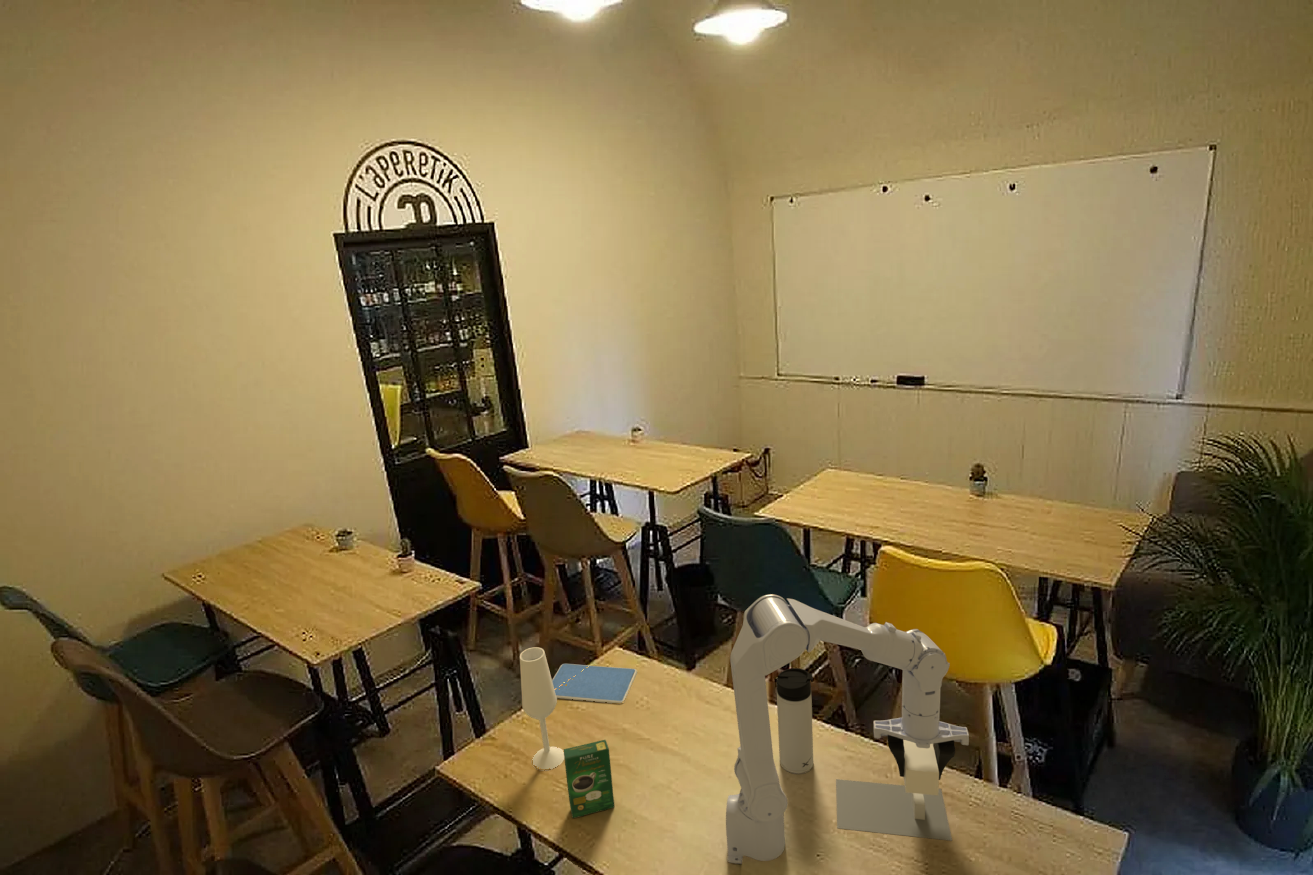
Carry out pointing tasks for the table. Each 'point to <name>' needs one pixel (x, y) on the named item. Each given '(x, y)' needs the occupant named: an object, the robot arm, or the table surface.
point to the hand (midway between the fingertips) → (919, 774)
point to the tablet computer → (593, 683)
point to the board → (890, 810)
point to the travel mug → (795, 720)
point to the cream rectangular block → (920, 769)
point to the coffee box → (589, 778)
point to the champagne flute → (539, 702)
